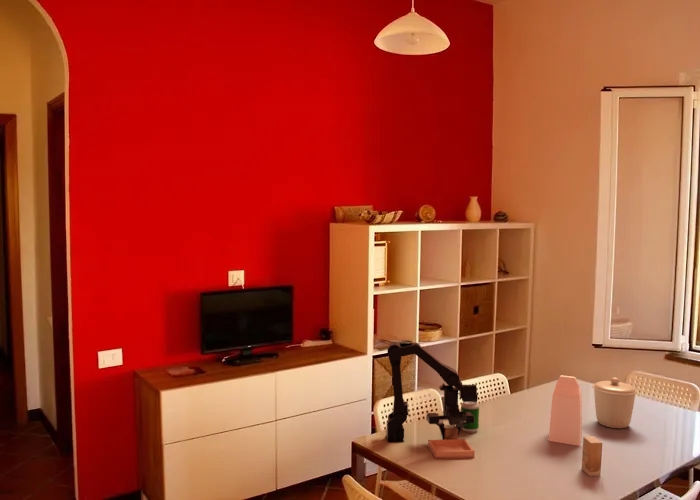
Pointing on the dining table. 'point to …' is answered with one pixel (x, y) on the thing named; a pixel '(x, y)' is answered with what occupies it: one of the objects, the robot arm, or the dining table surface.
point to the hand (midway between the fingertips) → (449, 438)
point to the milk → (566, 412)
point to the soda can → (474, 410)
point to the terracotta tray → (451, 448)
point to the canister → (614, 403)
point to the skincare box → (592, 456)
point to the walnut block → (450, 432)
